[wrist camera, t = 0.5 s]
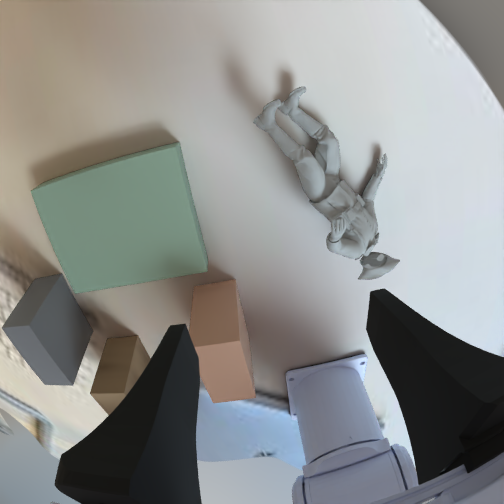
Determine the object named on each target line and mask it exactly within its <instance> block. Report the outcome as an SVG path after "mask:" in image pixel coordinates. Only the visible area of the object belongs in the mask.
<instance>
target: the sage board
mask: <svg viewBox="0 0 504 504" xmlns="http://www.w3.org/2000/svg"><path fill="white" fill-rule="evenodd" d="M31 193H32V196H33V199H34V202H35V205H36V207H37V210H38V213H39V215H40V218H41V220H42V223H43V225H44V228H45V230H46V233H47V235H48V237H49V240H50V242H51V244H52V247H53V249H54V251H55V253H56V256H57V258H58V260H59V262H60V264H61V266H62V268H63V271H64V273H65V275H66V277H67V279H68V281H69V283H70V285H71V287H72V289H73V291H74V293H75V294H77V293H83V292H89V291H95V290H101V289H107V288H114V287H120V286H126V285H132V284H138V283H144V282H150V281H156V280H162V279H167V278H173V277H179V276H185V275H191V274H197V273H202V272H207V268H208V257H207V253H206V250H205V246H204V242H203V238H202V234H201V230H200V226H199V222H198V219H197V215H196V211H195V206H194V202H193V198H192V194H191V190H190V186H189V182H188V177H187V173H186V169H185V165H184V160H183V156H182V152H181V147H180V143H179V142H177V143H173V144H169V145H165V146H161V147H157V148H153V149H149V150H145V151H141V152H137V153H134V154H130V155H127V156H123V157H120V158H116V159H113V160H109V161H106V162H103V163H100V164H96V165H93V166H90V167H87V168H84V169H81V170H78V171H75V172H72V173H69V174H66V175H64V176H61V177H58V178H55V179H52V180H50V181H47V182H44V183H42V184H40V185H39V186H37V187H36V188H35V189H33V190H32V191H31Z"/></svg>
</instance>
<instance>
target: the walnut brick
mask: <svg viewBox="0 0 504 504" xmlns="http://www.w3.org/2000/svg"><path fill="white" fill-rule="evenodd" d="M150 360H151V359H150V357H149V355H148V353H147V351H146V350H145V348H144V346H143V344H142V342H141V340H140V338H139V337H138V336H128V337H119V338H108V339H107V342H106V345H105V347H104V350H103V353H102V357H101V360H100V363H99V366H98V369H97V372H96V375H95V379H94V382H93V385H92V389H91V392H90V394H91V395H92V396H93V398H94V399H95V400H96V401H97V402H98V403H99V405H100V406H101V407H102V408H103V409H104V410H105V411H106V413H107V414H108V415H110V414H111V413H112V412H113V411H114V409H115V408H116V407H117V406H118V405H119V404H120V403H121V401H122V400H123V399H124V398H125V396H126V395H127V394H128V393H129V391H130V390H131V389H132V387H133V386H134V384H135V383H136V381H137V380H138V378H139V377H140V375H141V374H142V372H143V371H144V369H145V368H146V366H147V365H148V363H149V361H150Z"/></svg>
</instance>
